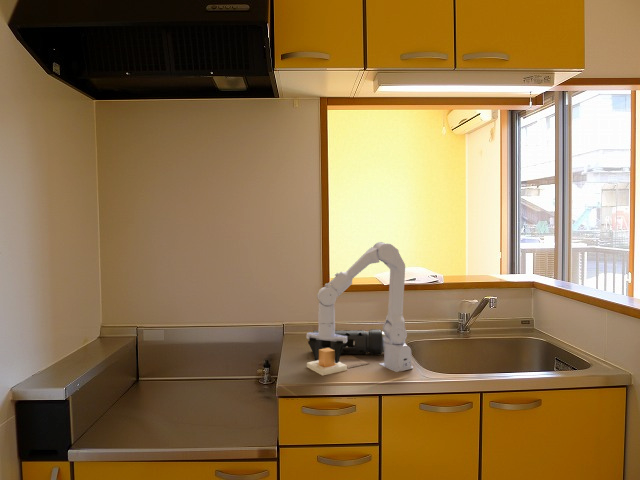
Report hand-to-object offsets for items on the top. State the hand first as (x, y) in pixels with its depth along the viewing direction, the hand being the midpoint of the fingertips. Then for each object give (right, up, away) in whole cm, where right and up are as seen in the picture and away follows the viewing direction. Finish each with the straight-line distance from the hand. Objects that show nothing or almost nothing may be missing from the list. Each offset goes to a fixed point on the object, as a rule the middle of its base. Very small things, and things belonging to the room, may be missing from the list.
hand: (326, 361), depth 158 cm
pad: (+8, -3, +8) cm, 12 cm away
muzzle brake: (+9, +2, +24) cm, 26 cm away
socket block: (0, -3, 0) cm, 3 cm away
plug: (0, -3, 0) cm, 3 cm away
